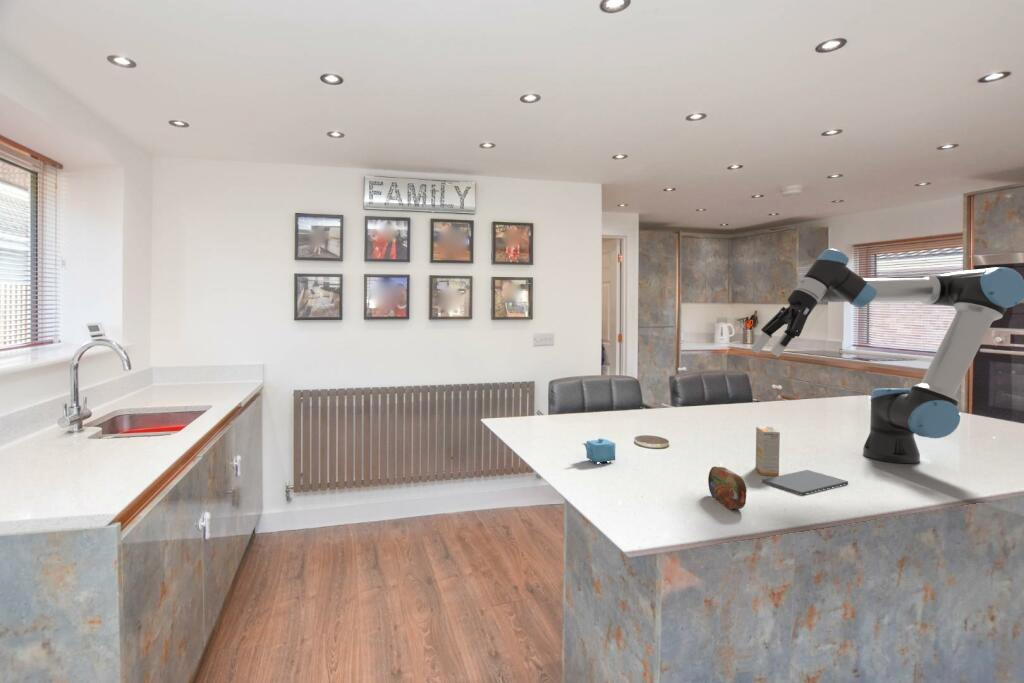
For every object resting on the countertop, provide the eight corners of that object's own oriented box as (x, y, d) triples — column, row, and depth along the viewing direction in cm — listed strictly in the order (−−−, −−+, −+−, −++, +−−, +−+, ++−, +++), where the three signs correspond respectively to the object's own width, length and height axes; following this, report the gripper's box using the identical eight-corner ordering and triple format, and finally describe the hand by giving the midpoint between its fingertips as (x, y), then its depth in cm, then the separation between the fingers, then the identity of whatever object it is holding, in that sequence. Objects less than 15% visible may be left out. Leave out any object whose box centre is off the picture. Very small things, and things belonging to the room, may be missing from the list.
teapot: (586, 466, 163) (586, 442, 162) (577, 461, 169) (577, 438, 168) (619, 462, 167) (619, 439, 167) (609, 457, 173) (609, 435, 172)
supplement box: (779, 476, 152) (780, 432, 151) (762, 475, 153) (763, 431, 152) (771, 468, 160) (772, 426, 159) (754, 467, 161) (755, 425, 160)
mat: (807, 472, 156) (807, 469, 155) (848, 484, 145) (848, 481, 145) (761, 482, 147) (761, 479, 147) (801, 495, 136) (801, 492, 136)
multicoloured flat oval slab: (706, 493, 138) (707, 462, 138) (718, 493, 138) (718, 461, 138) (735, 515, 123) (736, 480, 123) (748, 514, 123) (749, 479, 123)
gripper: (776, 290, 169) (737, 343, 171) (818, 286, 144) (772, 348, 146) (795, 304, 169) (756, 356, 171) (840, 301, 144) (794, 363, 146)
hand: (763, 352), depth 158 cm, fingers open, 13 cm apart
